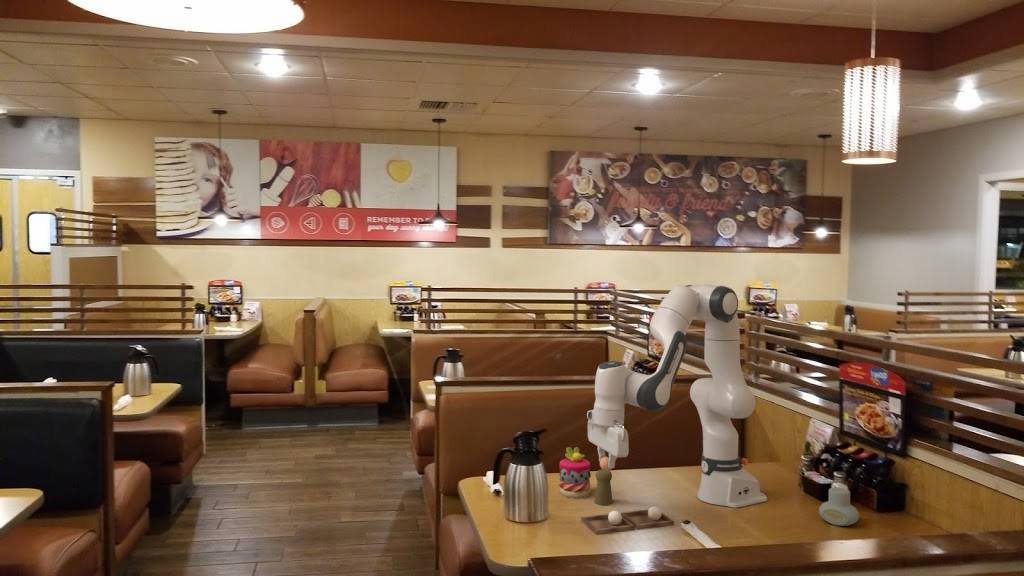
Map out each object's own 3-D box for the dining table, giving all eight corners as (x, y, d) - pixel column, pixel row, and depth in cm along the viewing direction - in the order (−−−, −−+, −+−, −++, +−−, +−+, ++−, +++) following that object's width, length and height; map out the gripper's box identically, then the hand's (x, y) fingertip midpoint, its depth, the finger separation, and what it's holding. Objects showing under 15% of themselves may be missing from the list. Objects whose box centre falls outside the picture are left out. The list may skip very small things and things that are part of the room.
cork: (612, 508, 229) (612, 473, 228) (593, 506, 230) (593, 472, 229) (613, 501, 234) (614, 468, 234) (594, 500, 236) (595, 467, 235)
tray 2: (655, 514, 223) (655, 508, 223) (674, 527, 213) (674, 521, 213) (620, 518, 220) (620, 512, 220) (637, 531, 209) (637, 525, 209)
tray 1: (617, 518, 219) (617, 512, 219) (634, 532, 209) (634, 525, 209) (580, 522, 216) (580, 517, 216) (596, 536, 205) (596, 530, 205)
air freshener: (815, 522, 218) (816, 489, 217) (823, 514, 224) (824, 483, 224) (854, 531, 211) (855, 497, 210) (861, 523, 217) (862, 490, 217)
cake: (596, 495, 241) (597, 450, 240) (572, 501, 235) (572, 455, 234) (576, 487, 249) (577, 444, 249) (552, 492, 243) (552, 448, 243)
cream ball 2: (657, 516, 219) (657, 503, 219) (663, 521, 216) (664, 508, 216) (645, 518, 218) (645, 505, 218) (651, 522, 214) (652, 509, 214)
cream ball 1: (618, 521, 215) (618, 508, 215) (624, 526, 212) (624, 512, 212) (605, 522, 214) (605, 509, 214) (611, 527, 210) (611, 514, 210)
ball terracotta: (609, 468, 213) (610, 454, 213) (615, 472, 210) (616, 458, 210) (597, 469, 212) (597, 455, 212) (603, 472, 208) (603, 459, 208)
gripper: (635, 425, 202) (633, 474, 202) (603, 410, 221) (601, 455, 221) (614, 425, 200) (612, 475, 200) (584, 410, 219) (582, 456, 219)
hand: (606, 464), depth 211 cm, fingers closed on ball terracotta, 4 cm apart
